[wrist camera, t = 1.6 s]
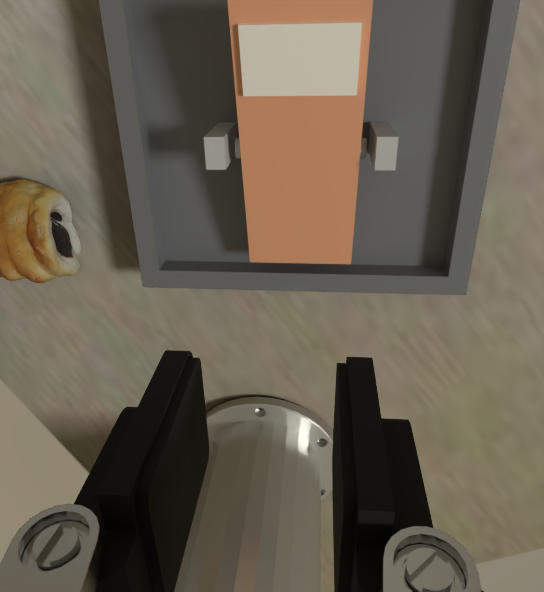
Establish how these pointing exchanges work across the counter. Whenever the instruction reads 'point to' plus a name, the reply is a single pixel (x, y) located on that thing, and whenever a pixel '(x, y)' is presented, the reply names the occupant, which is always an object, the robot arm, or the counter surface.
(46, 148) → the counter surface
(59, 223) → the pastry
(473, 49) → the breaker panel
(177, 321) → the counter surface
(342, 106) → the rocker
